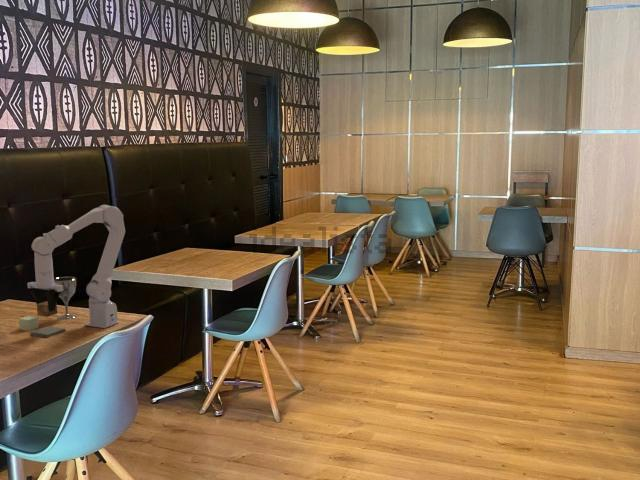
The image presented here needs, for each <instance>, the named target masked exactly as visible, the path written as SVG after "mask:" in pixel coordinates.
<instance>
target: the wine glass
mask: <svg viewBox="0 0 640 480" xmlns="http://www.w3.org/2000/svg"><path fill="white" fill-rule="evenodd" d="M54 283H56V284H59V285H63V291H61V293H60V295H59V297H58V298H60V299H61V300H62V302H63V303H64V308H65V314H62V315H58V316H57V317H56V318H57V320H71V319H75V318H77V317H78V315H77V314H74V313H72V314H70V313H69V309H68V308H69V301H70V300H71V298H72V297H73V296H74V294H75V293H76V288H77V278H76V277H75V276H60V277H55V278H54Z"/></svg>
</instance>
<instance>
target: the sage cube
mask: <svg viewBox="0 0 640 480" xmlns="http://www.w3.org/2000/svg"><path fill="white" fill-rule="evenodd" d="M18 323H19V324H18V325H19V330H23V331H30V332H31V331H34V330H37V329H40V321H39V316H34V315H27V316H24V317H20V318H19V319H18Z"/></svg>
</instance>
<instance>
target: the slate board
mask: <svg viewBox="0 0 640 480" xmlns="http://www.w3.org/2000/svg"><path fill="white" fill-rule="evenodd" d="M64 332H65V333H66V328H62V327H55V326H49V325H48V326H45V327H42V328H37V329H35V330H32V331H30V333H29V334H30V336H33V337H34V336H35V337H42V338H48V339H49V338H51V337H54V336H56V335H60V334H63V333H64Z"/></svg>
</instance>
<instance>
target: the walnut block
mask: <svg viewBox="0 0 640 480" xmlns="http://www.w3.org/2000/svg"><path fill="white" fill-rule="evenodd" d="M36 311H37V317H46V318H48V317H51V316H54V315H57V314H58V303H56V308H55V310H53V311H49V308H48V301H47V300H45V302H43V303H39V304H36Z"/></svg>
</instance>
